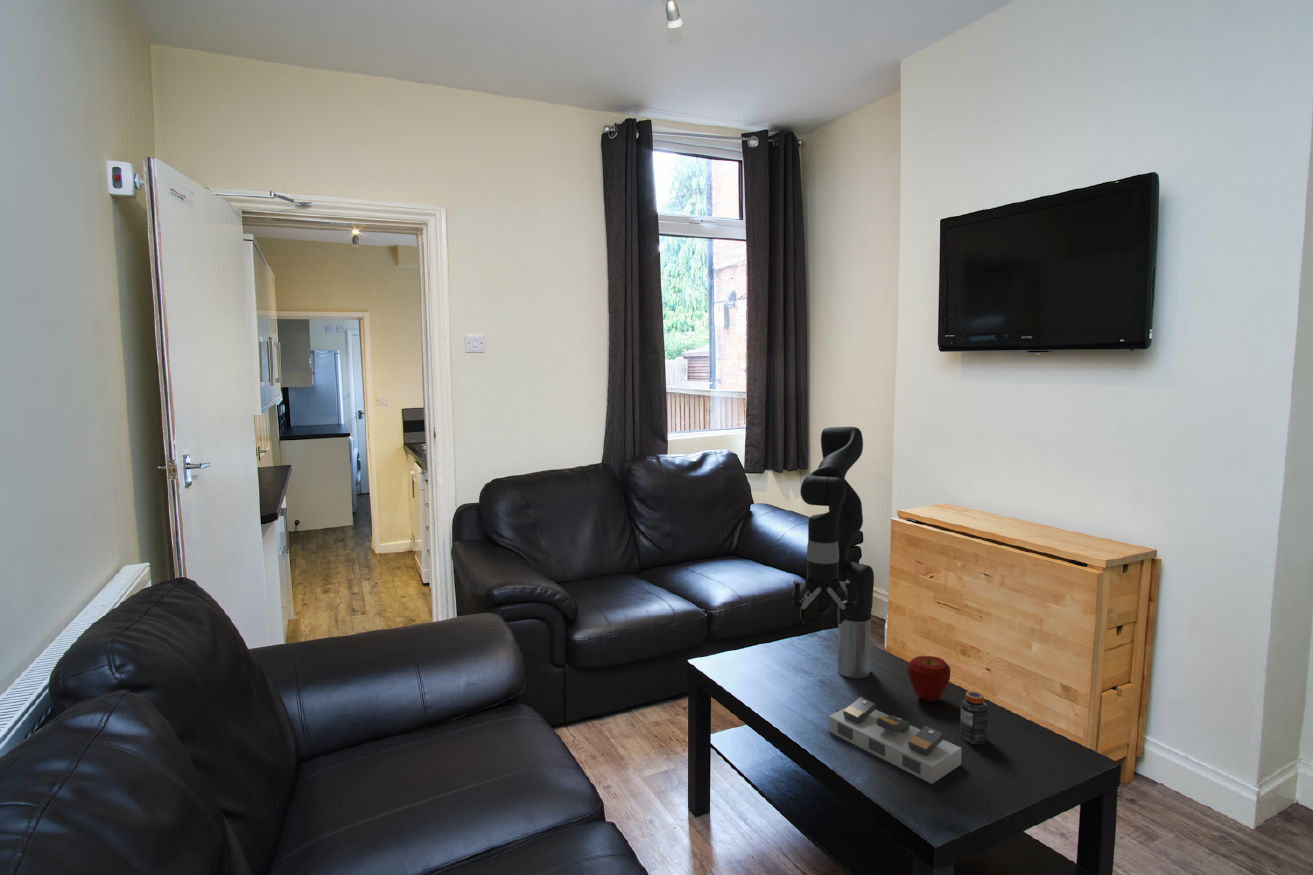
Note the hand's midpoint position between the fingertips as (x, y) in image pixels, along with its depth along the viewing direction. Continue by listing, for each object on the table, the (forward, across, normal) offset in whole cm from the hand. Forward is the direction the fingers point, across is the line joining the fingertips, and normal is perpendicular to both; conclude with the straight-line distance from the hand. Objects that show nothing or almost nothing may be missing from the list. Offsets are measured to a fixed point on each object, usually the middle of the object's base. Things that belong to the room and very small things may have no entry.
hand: (822, 622), depth 167 cm
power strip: (+28, -16, +6) cm, 33 cm away
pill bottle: (+29, -37, +1) cm, 47 cm away
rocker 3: (+24, -22, +13) cm, 35 cm away
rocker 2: (+24, -16, +6) cm, 30 cm away
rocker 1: (+24, -10, -1) cm, 26 cm away
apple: (+29, -33, -19) cm, 48 cm away
